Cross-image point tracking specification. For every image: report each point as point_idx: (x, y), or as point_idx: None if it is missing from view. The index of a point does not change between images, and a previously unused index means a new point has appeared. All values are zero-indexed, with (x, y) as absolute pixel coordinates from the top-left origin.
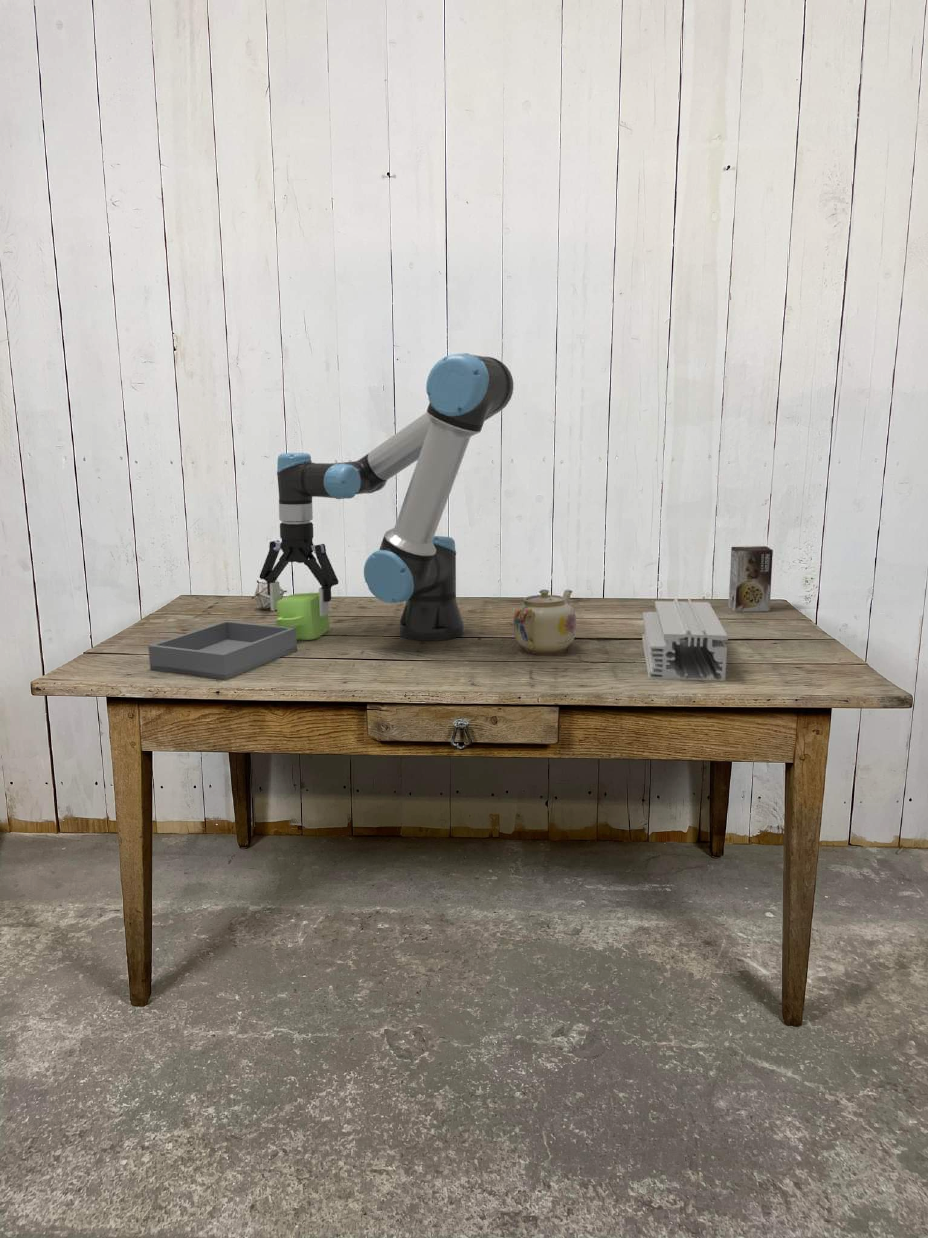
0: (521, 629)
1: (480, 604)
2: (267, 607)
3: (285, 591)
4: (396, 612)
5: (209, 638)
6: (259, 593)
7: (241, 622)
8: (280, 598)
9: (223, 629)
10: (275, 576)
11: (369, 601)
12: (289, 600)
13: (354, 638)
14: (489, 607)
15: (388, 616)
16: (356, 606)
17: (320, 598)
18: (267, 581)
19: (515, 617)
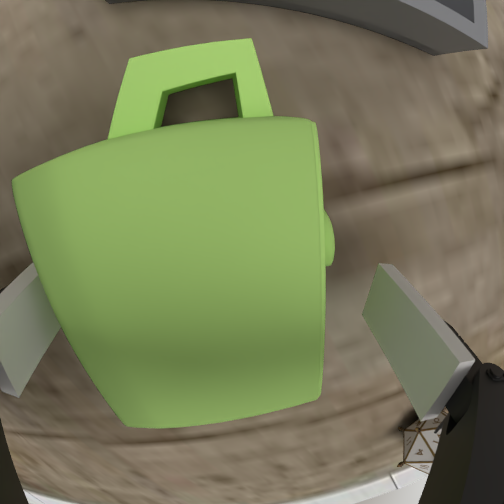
0: None
1: (56, 483)
2: None
3: (400, 464)
4: (126, 463)
5: None
6: None
7: (419, 9)
8: (406, 445)
9: (457, 10)
10: (460, 425)
11: (235, 498)
12: (197, 154)
13: (17, 234)
14: (32, 471)
15: (114, 443)
16: (239, 481)
17: (18, 285)
18: (492, 366)
19: None
